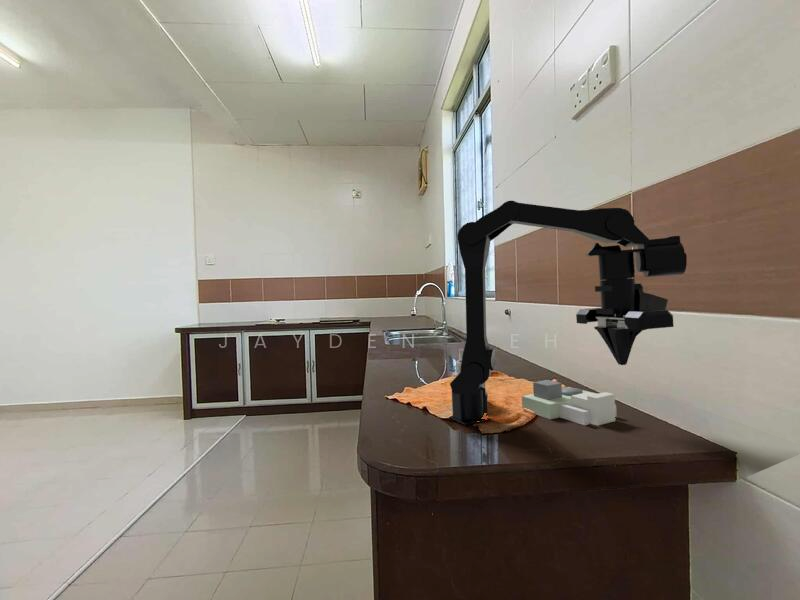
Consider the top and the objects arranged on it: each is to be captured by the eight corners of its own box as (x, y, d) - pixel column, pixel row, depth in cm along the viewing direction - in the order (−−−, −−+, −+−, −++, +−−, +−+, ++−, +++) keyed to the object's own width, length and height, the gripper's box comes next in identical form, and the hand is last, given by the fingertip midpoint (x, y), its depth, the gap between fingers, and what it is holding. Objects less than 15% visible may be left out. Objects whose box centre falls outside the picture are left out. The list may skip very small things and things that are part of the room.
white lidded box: (597, 426, 76) (596, 398, 76) (571, 418, 82) (570, 391, 82) (615, 421, 78) (614, 394, 78) (589, 413, 84) (588, 388, 84)
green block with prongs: (574, 427, 76) (573, 395, 75) (522, 409, 88) (521, 382, 88) (625, 415, 81) (624, 385, 81) (569, 399, 94) (568, 374, 94)
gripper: (700, 273, 66) (706, 369, 66) (622, 279, 85) (627, 354, 85) (638, 277, 64) (644, 375, 65) (572, 282, 83) (577, 358, 83)
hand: (622, 364), depth 74 cm, fingers closed
